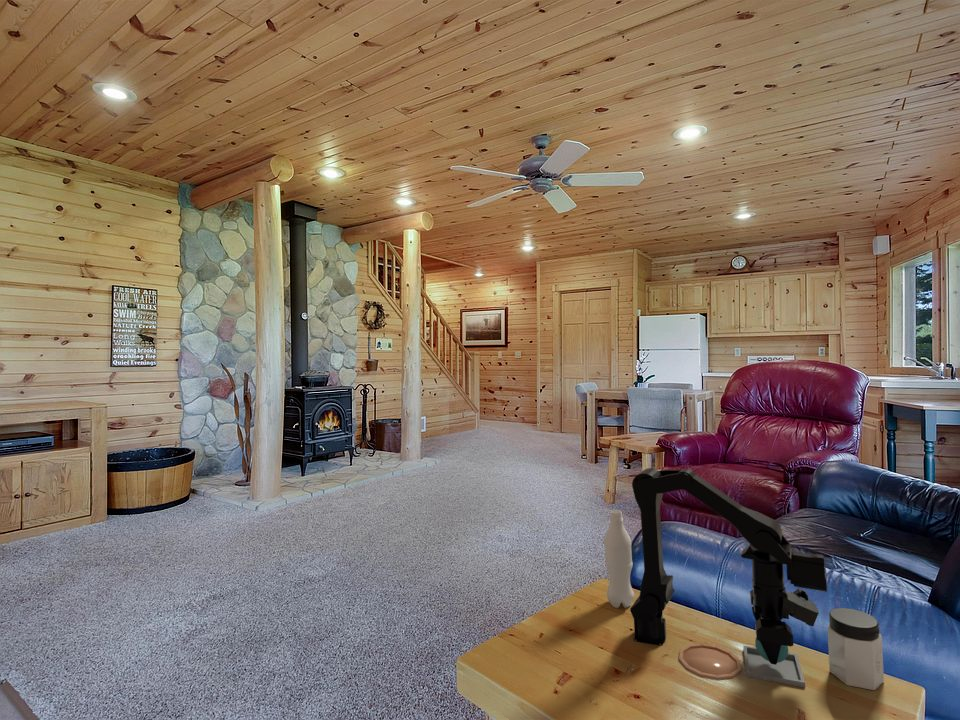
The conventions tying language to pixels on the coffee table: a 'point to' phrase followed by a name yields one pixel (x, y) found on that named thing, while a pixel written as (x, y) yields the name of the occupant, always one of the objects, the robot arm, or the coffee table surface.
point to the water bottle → (618, 562)
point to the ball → (761, 651)
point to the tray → (773, 668)
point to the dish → (710, 661)
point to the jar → (855, 648)
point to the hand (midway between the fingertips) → (771, 655)
